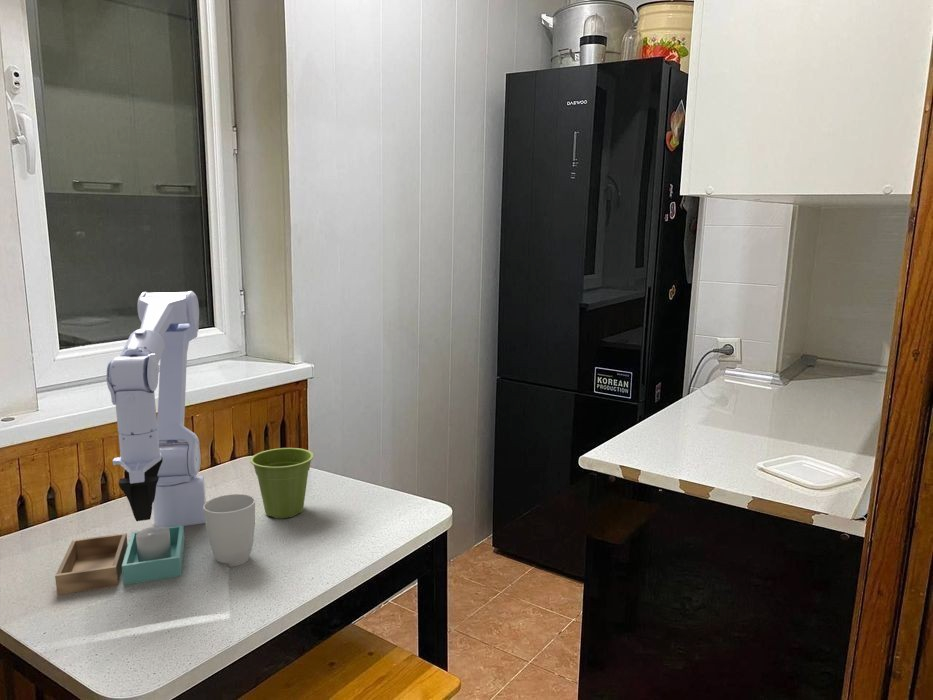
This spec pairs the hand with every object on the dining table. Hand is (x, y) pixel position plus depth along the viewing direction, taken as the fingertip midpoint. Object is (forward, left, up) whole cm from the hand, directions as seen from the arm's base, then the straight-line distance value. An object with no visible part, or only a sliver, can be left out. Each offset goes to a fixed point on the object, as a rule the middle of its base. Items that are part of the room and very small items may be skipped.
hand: (145, 510), depth 115 cm
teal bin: (-1, +1, -9) cm, 10 cm away
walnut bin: (+8, +1, -9) cm, 12 cm away
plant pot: (-23, -15, -10) cm, 29 cm away
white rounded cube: (-1, +1, -9) cm, 9 cm away
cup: (-13, +3, -10) cm, 16 cm away
